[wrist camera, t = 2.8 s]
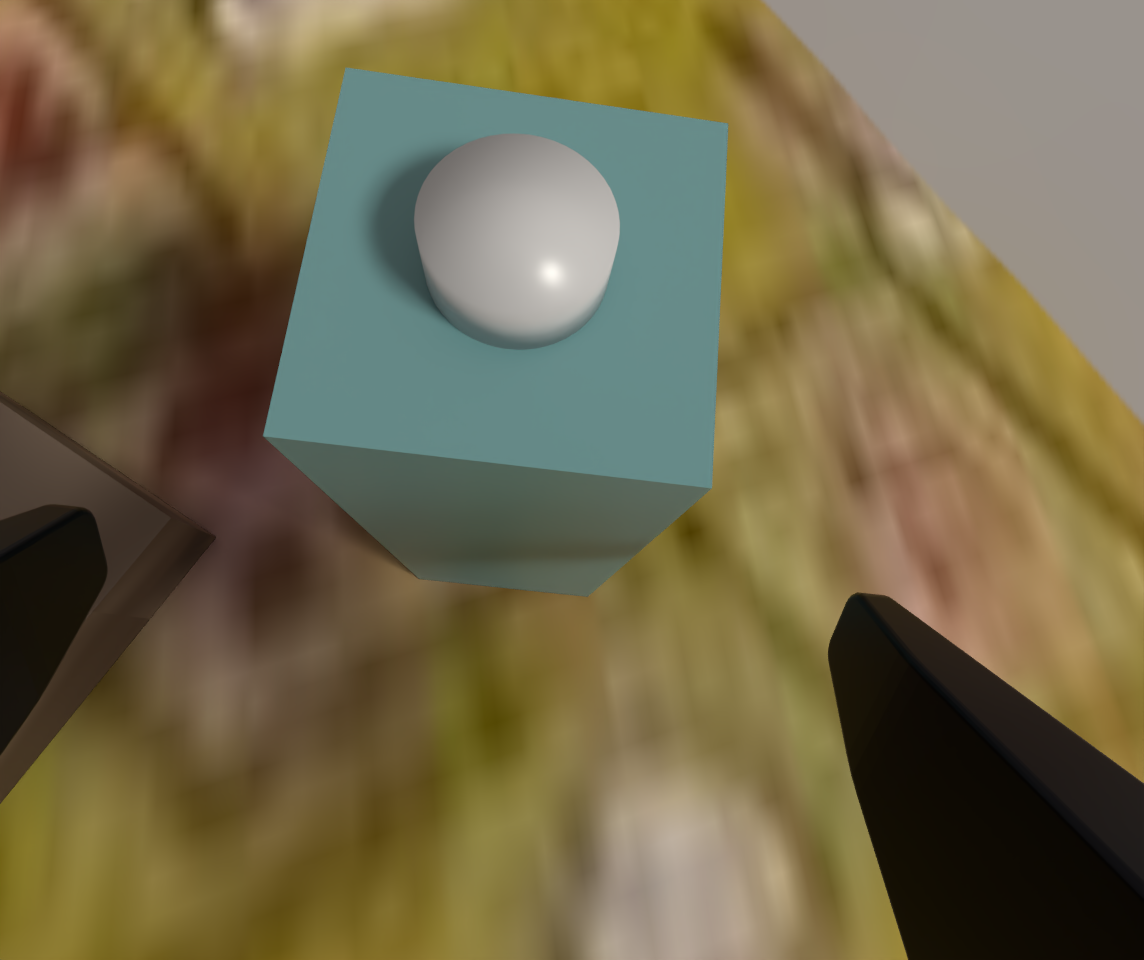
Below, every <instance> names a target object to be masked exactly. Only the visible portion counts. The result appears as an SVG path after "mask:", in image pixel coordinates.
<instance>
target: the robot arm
mask: <svg viewBox="0 0 1144 960" xmlns="http://www.w3.org/2000/svg"><path fill="white" fill-rule="evenodd" d="M107 573H108V566H107V560H106V556H105V553H104V549H103V545H102V541H101V537H100V534H99V530H98V526H97V522H96V519H95V516H94V515H93V514H92V512H91V511H90V510H88V509H86V508H84V507H77V506H68V505H59V504H47V505H43V506H40V507H38V508H35V509H32V510H29V511H26V512H23V513H20V514H17V515H14V516H11V517H8V518H5V519H2V520H0V756H1V754H2V753H3V752H4V750H5V749H6V747H7V746H8V744H9V743H10V742H11V740H12V739H13V737H14V736H15V735H16V733H17V732H18V730H19V729H20V727H21V726H22V725H23V723H24V722H25V720H26V719H27V717H28V716H29V714H30V713H31V711H32V710H33V708H34V707H35V705H36V704H37V702H38V701H39V699H40V698H41V696H42V694H43V693H44V691H45V690H46V688H47V686H48V685H49V683H50V681H51V680H52V678H53V676H54V674H55V672H56V671H57V669H58V667H59V665H60V664H61V662H62V660H63V658H64V656H65V655H66V653H67V651H68V649H69V647H70V646H71V644H72V642H73V640H74V638H75V637H76V635H77V633H78V631H79V630H80V628H81V626H82V624H83V622H84V621H85V619H86V617H87V615H88V613H89V612H90V610H91V608H92V606H93V605H94V603H95V601H96V599H97V597H98V596H99V594H100V592H101V590H102V588H103V586H104V584H105V581H106V578H107ZM828 661H829V667H830V672H831V677H832V682H833V687H834V692H835V697H836V702H837V707H838V713H839V718H840V723H841V728H842V733H843V738H844V743H845V748H846V754H847V758H848V763H849V767H850V771H851V776H852V779H853V783H854V786H855V790H856V793H857V797H858V800H859V803H860V806H861V810H862V813H863V816H864V819H865V822H866V826H867V829H868V832H869V835H870V838H871V842H872V845H873V848H874V851H875V854H876V858H877V861H878V864H879V867H880V871H881V874H882V877H883V880H884V883H885V887H886V890H887V893H888V896H889V899H890V903H891V906H892V909H893V912H894V915H895V919H896V922H897V925H898V928H899V931H900V935H901V938H902V941H903V944H904V948H905V951H906V954H907V957H908V960H1144V783H1143V782H1141V781H1140V780H1138V779H1137V778H1136V777H1134V776H1133V775H1132V774H1130V773H1129V772H1127V771H1126V770H1125V769H1123V768H1122V767H1121V766H1119V765H1118V764H1117V763H1115V762H1114V761H1112V760H1111V759H1110V758H1108V757H1107V756H1106V755H1104V754H1103V753H1102V752H1100V751H1099V750H1097V749H1096V748H1095V747H1093V746H1092V745H1091V744H1089V743H1088V742H1087V741H1085V740H1084V739H1082V738H1081V737H1080V736H1078V735H1077V734H1076V733H1074V732H1073V731H1072V730H1070V729H1069V728H1067V727H1066V726H1065V725H1063V724H1062V723H1061V722H1059V721H1058V720H1057V719H1055V718H1054V717H1052V716H1051V715H1050V714H1048V713H1047V712H1046V711H1044V710H1043V709H1042V708H1040V707H1039V706H1037V705H1036V704H1035V703H1033V702H1032V701H1031V700H1029V699H1028V698H1027V697H1025V696H1024V695H1022V694H1021V693H1020V692H1018V691H1017V690H1016V689H1014V688H1013V687H1012V686H1010V685H1009V684H1007V683H1006V682H1005V681H1003V680H1002V679H1001V678H999V677H998V676H997V675H995V674H994V673H992V672H991V671H990V670H988V669H987V668H986V667H984V666H983V665H982V664H980V663H979V662H977V661H976V660H975V659H973V658H972V657H971V656H969V655H968V654H967V653H965V652H964V651H962V650H961V649H960V648H958V647H957V646H956V645H954V644H953V643H952V642H950V641H949V640H947V639H946V638H945V637H943V636H942V635H941V634H939V633H938V632H937V631H935V630H934V629H932V628H931V627H930V626H928V625H927V624H926V623H924V622H923V621H922V620H920V619H919V618H917V617H916V616H915V615H913V614H912V613H911V612H909V611H908V610H907V609H905V608H904V607H902V606H901V605H900V604H898V603H897V602H896V601H894V600H893V599H891V598H890V597H888V596H885V595H877V594H868V593H855V594H853V595H851V596H850V598H849V599H848V601H847V602H846V604H845V607H844V609H843V611H842V614H841V616H840V619H839V621H838V623H837V626H836V628H835V630H834V633H833V635H832V637H831V640H830V643H829V648H828Z"/></svg>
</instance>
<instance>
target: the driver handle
mask: <svg viewBox="0 0 1144 960" xmlns="http://www.w3.org/2000/svg"><path fill="white" fill-rule="evenodd" d="M727 139H728V123H721V122H714V121H707V120H700V119H694V118H687V117H680V116H673V115H666V114H659V113H653V112H646V111H639V110H632V109H625V108H618V107H612V106H605V105H598V104H591V103H584V102H577V101H571V100H564V99H557V98H550V97H543V96H536V95H530V94H523V93H516V92H509V91H502V90H495V89H489V88H482V87H475V86H468V85H461V84H454V83H448V82H441V81H434V80H427V79H420V78H413V77H406V76H400V75H393V74H386V73H379V72H372V71H365V70H359V69H352V68H346V69H345V74H344V78H343V82H342V87H341V91H340V96H339V100H338V105H337V109H336V114H335V118H334V123H333V127H332V131H331V136H330V140H329V145H328V149H327V154H326V158H325V163H324V167H323V171H322V176H321V180H320V185H319V189H318V194H317V198H316V203H315V207H314V212H313V216H312V220H311V225H310V229H309V234H308V238H307V243H306V247H305V252H304V256H303V261H302V265H301V269H300V274H299V278H298V283H297V287H296V292H295V296H294V301H293V305H292V309H291V314H290V318H289V323H288V327H287V332H286V336H285V341H284V345H283V350H282V354H281V358H280V363H279V367H278V372H277V376H276V381H275V385H274V390H273V394H272V399H271V403H270V407H269V412H268V416H267V421H266V425H265V430H264V434H263V437H264V438H265V439H267V440H268V441H269V442H270V443H271V444H272V445H273V446H274V447H275V448H276V449H278V450H279V451H280V452H281V453H282V454H283V455H284V456H285V457H286V458H287V459H288V460H290V461H291V462H292V463H293V464H294V465H295V466H296V467H297V468H298V469H299V470H300V471H302V472H303V473H304V474H305V475H306V476H307V477H308V478H309V479H310V480H311V481H313V482H314V483H315V484H316V485H317V486H318V487H319V488H320V489H321V490H322V491H323V492H325V493H326V494H327V495H328V496H329V497H330V498H331V499H332V500H333V501H334V502H336V503H337V504H338V505H339V506H340V507H341V508H342V509H343V510H344V511H345V512H346V513H348V514H349V515H350V516H351V517H352V518H353V519H354V520H355V521H356V522H357V523H359V524H360V525H361V526H362V527H363V528H364V529H365V530H366V531H367V532H368V533H369V534H371V535H372V536H373V537H374V538H375V539H376V540H377V541H378V542H379V543H380V544H381V545H383V546H384V547H385V548H386V549H387V550H388V551H389V552H390V553H391V554H392V555H394V556H395V557H396V558H397V559H398V560H399V561H400V562H401V563H402V564H403V565H404V566H406V567H407V568H408V569H409V570H410V571H411V572H412V573H413V574H414V575H415V576H417V577H418V578H419V579H425V580H435V581H444V582H453V583H463V584H472V585H482V586H491V587H501V588H510V589H520V590H529V591H538V592H548V593H557V594H567V595H576V596H586V597H588V596H589V595H590V594H591V593H592V592H594V591H595V590H596V589H597V588H598V587H599V586H600V585H602V584H603V583H604V582H605V581H606V580H607V579H608V578H610V577H611V576H612V575H613V574H614V573H615V572H616V571H618V570H619V569H620V568H621V567H622V566H623V565H624V564H626V563H627V562H628V561H629V560H630V559H631V558H632V557H634V556H635V555H636V554H637V553H638V552H639V551H641V550H642V549H643V548H644V547H645V546H646V545H647V544H649V543H650V542H651V541H652V540H653V539H654V538H655V537H657V536H658V535H659V534H660V533H661V532H662V531H663V530H665V529H666V528H667V527H668V526H669V525H670V524H671V523H673V522H674V521H675V520H676V519H677V518H678V517H679V516H681V515H682V514H683V513H684V512H685V511H686V510H687V509H689V508H690V507H691V506H692V505H693V504H694V503H696V502H697V501H698V500H699V499H700V498H701V497H702V496H704V495H705V494H706V493H707V492H708V491H709V490H710V489H712V472H713V450H714V428H715V406H716V383H717V361H718V339H719V317H720V295H721V272H722V250H723V228H724V206H725V184H726V161H727Z"/></svg>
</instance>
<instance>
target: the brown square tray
mask: <svg viewBox="0 0 1144 960" xmlns="http://www.w3.org/2000/svg"><path fill="white" fill-rule="evenodd" d="M47 504H59V505H68V506H77V507H84V508H86V509H88V510H90V511H91V512H92V514H93V515H94V516H95V519H96V522H97V526H98V530H99V534H100V537H101V541H102V545H103V549H104V553H105V556H106V560H107V566H108V573H107V578H106V581H105V584H104V586H103V588H102V590H101V592H100V594H99V596H98V597H97V599H96V601H95V603H94V605H93V606H92V608H91V610H90V612H89V613H88V615H87V617H86V619H85V621H84V622H83V624H82V626H81V628H80V630H79V631H78V633H77V635H76V637H75V638H74V640H73V642H72V644H71V646H70V647H69V649H68V651H67V653H66V655H65V656H64V658H63V660H62V662H61V664H60V665H59V667H58V669H57V671H56V672H55V674H54V676H53V678H52V680H51V681H50V683H49V685H48V686H47V688H46V690H45V691H44V693H43V694H42V696H41V698H40V699H39V701H38V702H37V704H36V705H35V707H34V708H33V710H32V711H31V713H30V714H29V716H28V717H27V719H26V720H25V722H24V723H23V725H22V726H21V727H20V729H19V730H18V732H17V733H16V735H15V736H14V737H13V739H12V740H11V742H10V743H9V744H8V746H7V747H6V749H5V750H4V752H3V753H2V754H1V756H0V803H1V802H2V801H3V800H4V798H5V797H6V796H7V795H8V793H9V792H10V791H11V790H12V788H13V787H14V786H15V785H16V784H17V782H18V781H19V780H20V779H21V777H22V776H23V775H24V774H25V772H26V771H27V770H28V769H29V767H30V766H31V765H32V764H33V763H34V761H35V760H36V759H37V758H38V756H39V755H40V754H41V753H42V751H43V750H44V749H45V748H46V747H47V745H48V744H49V743H50V742H51V740H52V739H53V738H54V737H55V735H56V734H57V733H58V732H59V730H60V729H61V728H62V727H63V726H64V724H65V723H66V722H67V721H68V719H69V718H70V717H71V716H72V714H73V713H74V712H75V711H76V709H77V708H78V707H79V706H80V705H81V703H82V702H83V701H84V700H85V698H86V697H87V696H88V695H89V693H90V692H91V691H92V690H93V688H94V687H95V686H96V685H97V684H98V682H99V681H100V680H101V679H102V677H103V676H104V675H105V674H106V672H107V671H108V670H109V669H110V668H111V666H112V665H113V664H114V663H115V661H116V660H117V659H118V658H119V656H120V655H121V654H122V653H123V651H124V650H125V649H126V648H127V647H128V645H129V644H130V643H131V642H132V640H133V639H134V638H135V637H136V635H137V634H138V633H139V632H140V630H141V629H142V628H143V627H144V626H145V624H146V623H147V622H148V621H149V619H150V618H151V617H152V616H153V614H154V613H155V612H156V611H157V609H158V608H159V607H160V606H161V605H162V603H163V602H164V601H165V600H166V598H167V597H168V596H169V595H170V593H171V592H172V591H173V590H174V588H175V587H176V586H177V585H178V584H179V582H180V581H181V580H182V579H183V577H184V576H185V575H186V574H187V572H188V571H189V570H190V569H191V568H192V566H193V565H194V564H195V563H196V561H197V560H198V559H199V558H200V556H201V555H202V554H203V553H204V551H205V550H206V549H207V548H208V547H209V545H210V544H211V543H212V542H213V540H214V539H215V538H216V537H215V536H214V535H212V534H211V533H209V532H208V531H206V530H205V529H203V528H202V527H200V526H199V525H197V524H196V523H194V522H193V521H192V520H190V519H189V518H187V517H186V516H184V515H183V514H181V513H180V512H178V511H177V510H175V509H174V508H172V507H171V506H169V505H168V504H166V503H165V502H163V501H162V500H160V499H159V498H157V497H156V496H155V495H153V494H152V493H150V492H149V491H147V490H146V489H144V488H143V487H141V486H140V485H138V484H137V483H135V482H134V481H132V480H131V479H129V478H128V477H126V476H125V475H123V474H122V473H120V472H119V471H117V470H116V469H115V468H113V467H112V466H110V465H109V464H107V463H106V462H104V461H103V460H101V459H100V458H98V457H97V456H95V455H94V454H92V453H91V452H89V451H88V450H86V449H85V448H83V447H82V446H80V445H79V444H77V443H76V442H75V441H73V440H72V439H70V438H69V437H67V436H66V435H64V434H63V433H61V432H60V431H58V430H57V429H55V428H54V427H52V426H51V425H49V424H48V423H46V422H45V421H43V420H42V419H40V418H39V417H38V416H36V415H35V414H33V413H32V412H30V411H29V410H27V409H26V408H24V407H23V406H21V405H20V404H18V403H17V402H15V401H14V400H12V399H11V398H9V397H8V396H6V395H5V394H3V393H2V392H0V520H2V519H5V518H8V517H11V516H14V515H17V514H20V513H23V512H26V511H29V510H32V509H35V508H38V507H40V506H43V505H47Z"/></svg>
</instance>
